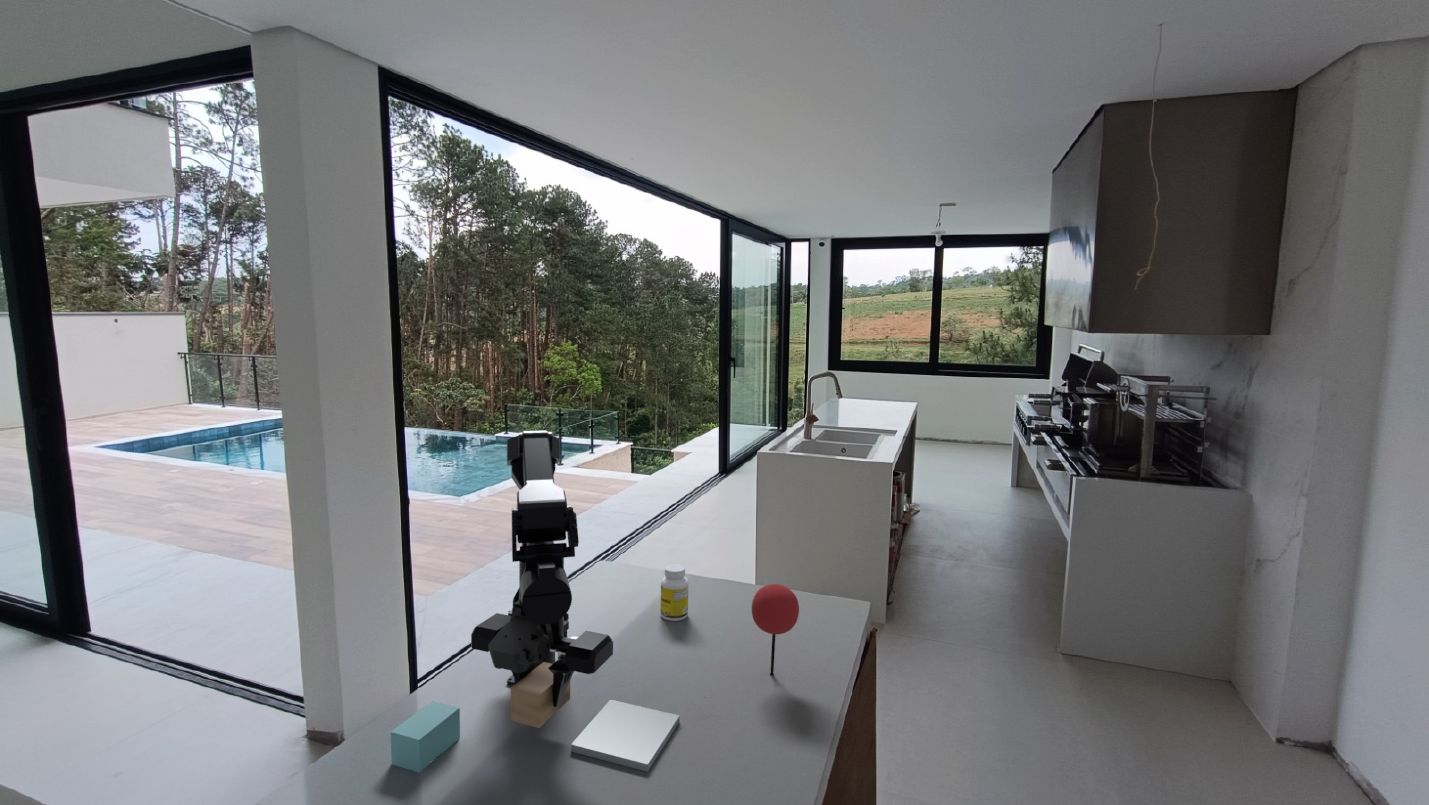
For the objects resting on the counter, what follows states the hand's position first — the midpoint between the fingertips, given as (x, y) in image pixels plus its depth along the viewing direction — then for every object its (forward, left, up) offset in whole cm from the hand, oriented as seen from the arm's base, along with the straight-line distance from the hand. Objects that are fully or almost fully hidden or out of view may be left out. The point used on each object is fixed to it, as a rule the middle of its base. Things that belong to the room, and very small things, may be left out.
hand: (541, 701), depth 85 cm
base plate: (-4, +11, -5) cm, 13 cm away
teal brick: (+8, -12, -5) cm, 15 cm away
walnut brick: (0, 0, -1) cm, 1 cm away
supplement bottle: (-41, +3, -5) cm, 42 cm away
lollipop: (-27, +26, -5) cm, 38 cm away
